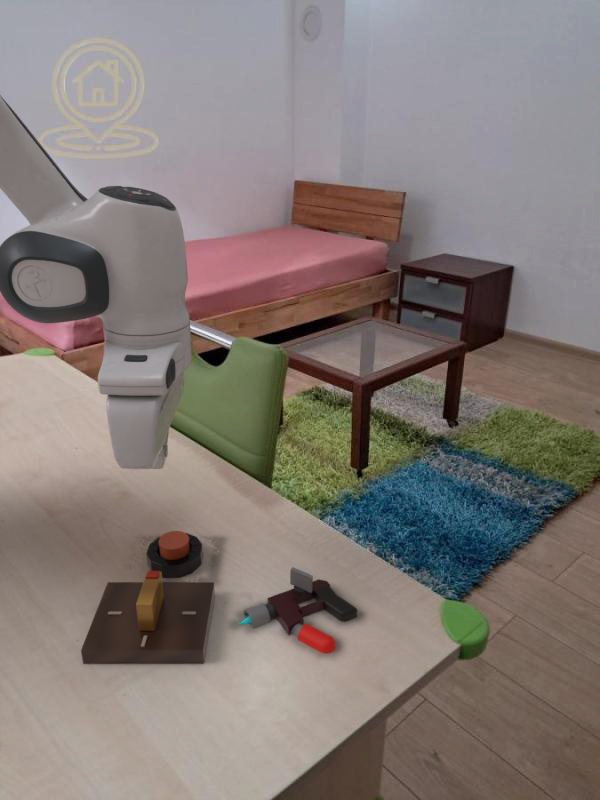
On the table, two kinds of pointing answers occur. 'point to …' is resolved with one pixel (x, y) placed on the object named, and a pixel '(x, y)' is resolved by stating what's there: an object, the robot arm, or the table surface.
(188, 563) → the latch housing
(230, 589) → the table surface
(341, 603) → the toy gun
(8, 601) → the table surface
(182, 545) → the button
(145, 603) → the lock turn
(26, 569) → the table surface
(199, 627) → the plate
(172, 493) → the table surface
